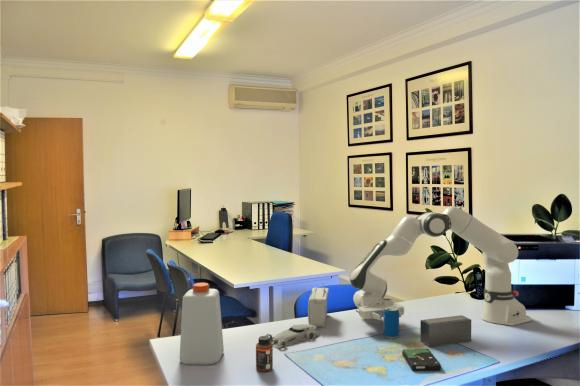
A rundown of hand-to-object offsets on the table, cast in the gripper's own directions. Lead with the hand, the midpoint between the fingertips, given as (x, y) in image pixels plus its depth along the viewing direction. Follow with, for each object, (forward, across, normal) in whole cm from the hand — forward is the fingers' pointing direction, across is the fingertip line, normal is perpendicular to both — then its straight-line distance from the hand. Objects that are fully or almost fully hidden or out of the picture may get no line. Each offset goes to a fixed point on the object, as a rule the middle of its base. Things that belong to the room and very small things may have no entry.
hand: (390, 316), depth 195 cm
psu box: (+13, +18, +8) cm, 24 cm away
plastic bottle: (-2, -79, +9) cm, 79 cm away
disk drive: (+28, -3, +9) cm, 29 cm away
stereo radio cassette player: (-28, -22, +9) cm, 36 cm away
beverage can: (+1, 0, +8) cm, 8 cm away
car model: (-9, -40, +9) cm, 42 cm away
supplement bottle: (+15, -59, +9) cm, 61 cm away
